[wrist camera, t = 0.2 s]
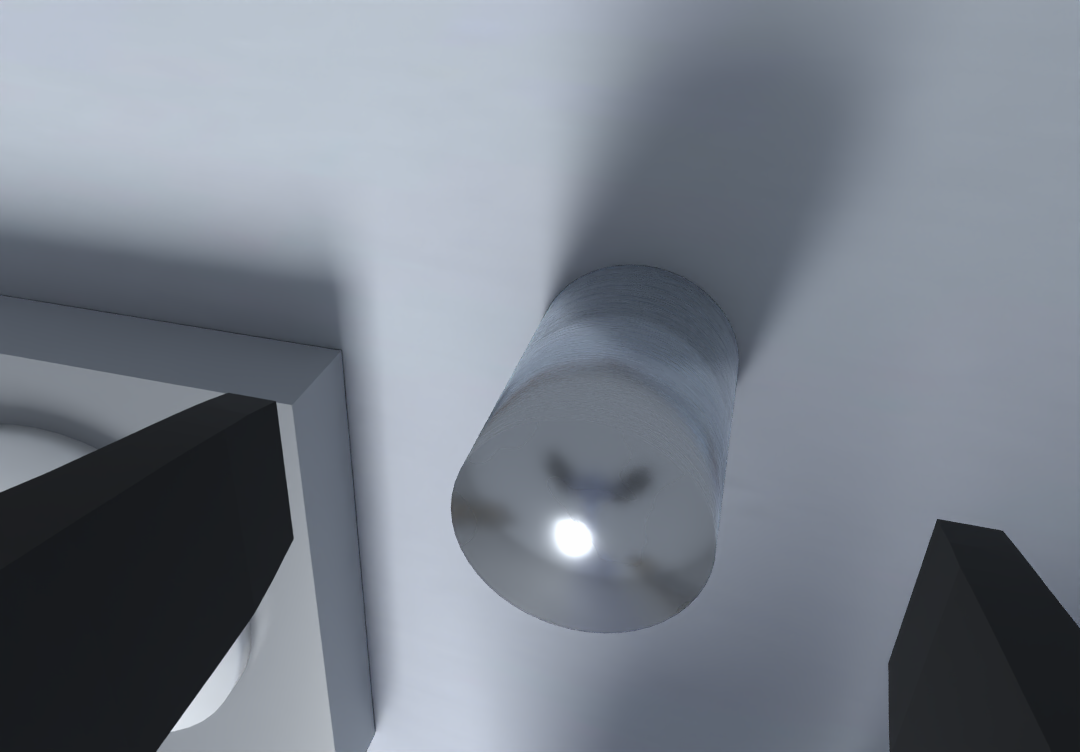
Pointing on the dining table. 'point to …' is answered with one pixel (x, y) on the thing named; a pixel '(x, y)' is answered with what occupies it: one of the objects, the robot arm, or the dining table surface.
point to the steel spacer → (606, 456)
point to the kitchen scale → (313, 489)
